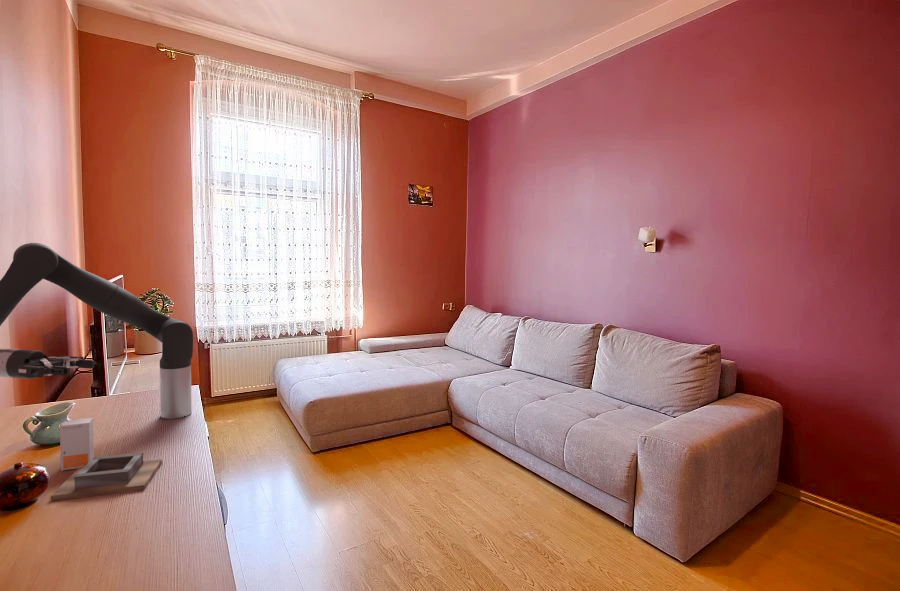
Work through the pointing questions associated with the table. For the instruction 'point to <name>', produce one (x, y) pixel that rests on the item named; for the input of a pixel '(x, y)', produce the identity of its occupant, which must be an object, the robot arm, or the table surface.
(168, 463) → the table surface
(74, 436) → the skincare box
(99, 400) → the table surface
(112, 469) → the socket stand
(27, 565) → the table surface
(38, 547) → the table surface
